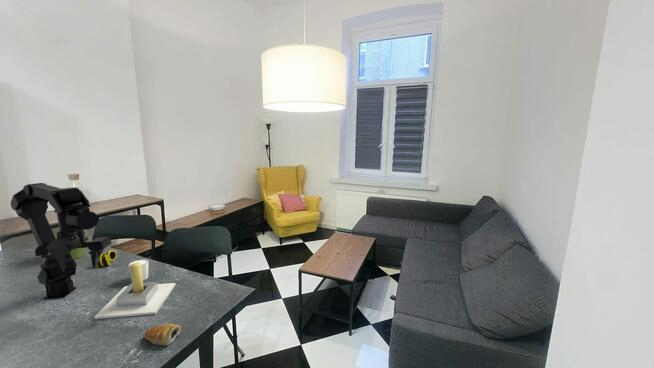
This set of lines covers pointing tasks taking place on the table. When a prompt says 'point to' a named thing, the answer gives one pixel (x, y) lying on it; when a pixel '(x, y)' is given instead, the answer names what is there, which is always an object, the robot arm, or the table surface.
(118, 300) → the metal collar
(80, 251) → the plant pot
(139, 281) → the pin
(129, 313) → the base plate
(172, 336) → the pastry
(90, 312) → the table surface
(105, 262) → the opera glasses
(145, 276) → the white short cylinder
